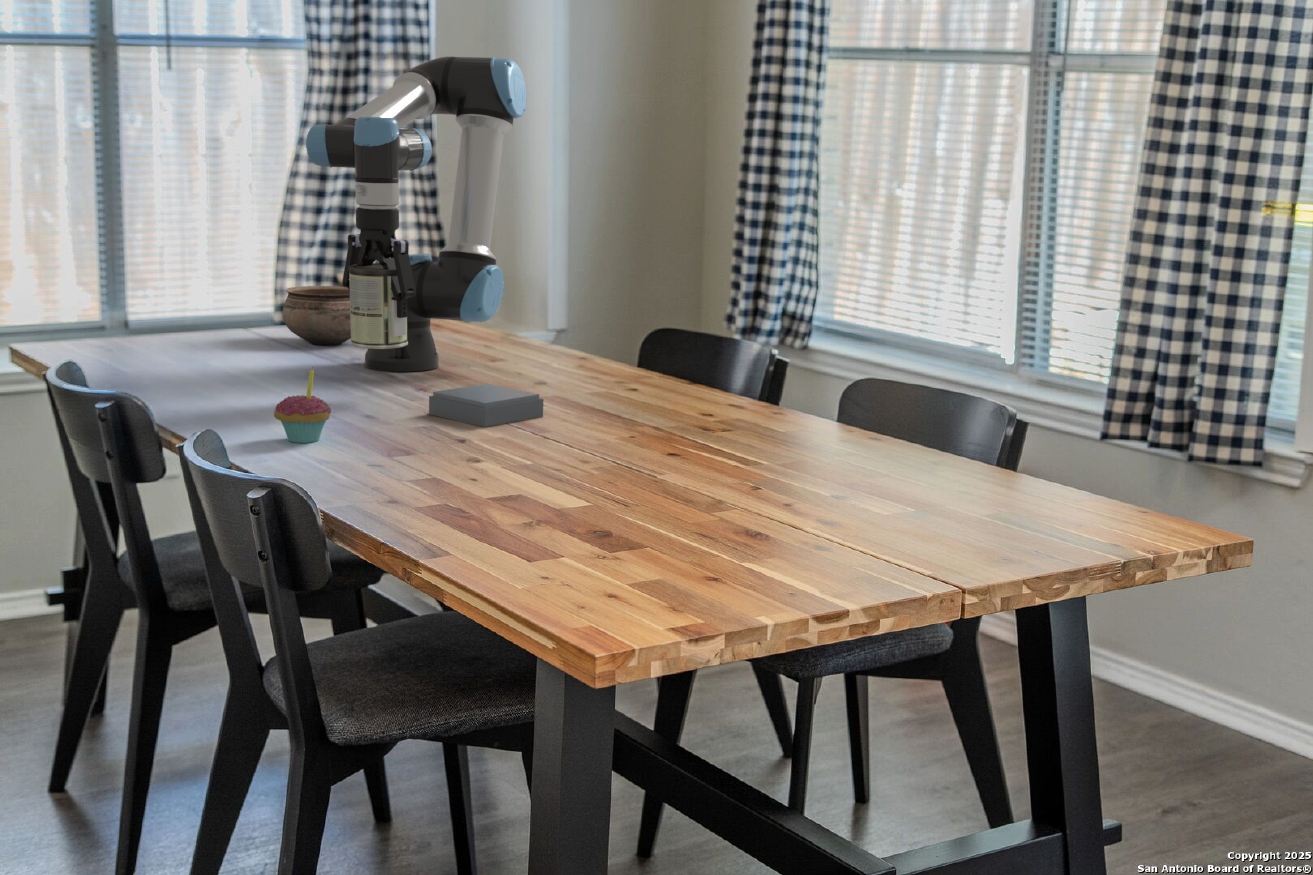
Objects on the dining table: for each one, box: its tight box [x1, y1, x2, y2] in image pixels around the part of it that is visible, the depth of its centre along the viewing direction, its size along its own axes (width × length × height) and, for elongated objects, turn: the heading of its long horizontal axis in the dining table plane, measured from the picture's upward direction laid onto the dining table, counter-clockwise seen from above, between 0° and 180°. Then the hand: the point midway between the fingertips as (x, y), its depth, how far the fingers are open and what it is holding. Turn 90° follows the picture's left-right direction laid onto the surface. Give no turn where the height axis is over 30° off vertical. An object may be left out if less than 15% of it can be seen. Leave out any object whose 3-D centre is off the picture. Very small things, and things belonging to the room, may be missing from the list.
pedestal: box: [428, 383, 544, 428], centre depth 238 cm, size 14×14×4 cm
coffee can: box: [348, 262, 408, 350], centre depth 244 cm, size 10×10×14 cm
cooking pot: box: [281, 285, 351, 347], centre depth 308 cm, size 25×19×12 cm
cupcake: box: [273, 365, 332, 444], centre depth 213 cm, size 9×8×12 cm
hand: (379, 331), depth 246 cm, fingers closed on coffee can, 10 cm apart
